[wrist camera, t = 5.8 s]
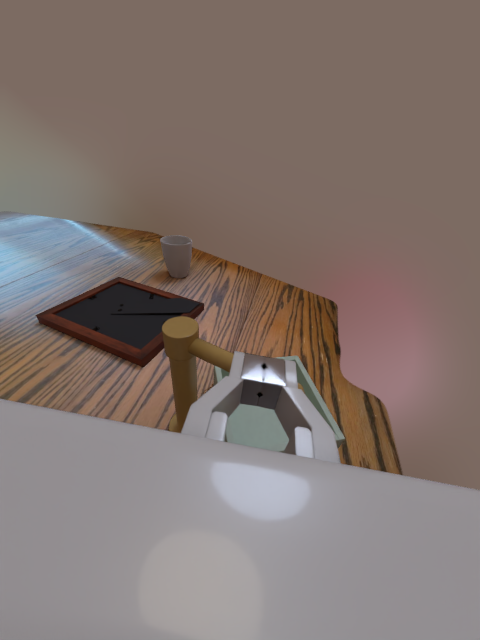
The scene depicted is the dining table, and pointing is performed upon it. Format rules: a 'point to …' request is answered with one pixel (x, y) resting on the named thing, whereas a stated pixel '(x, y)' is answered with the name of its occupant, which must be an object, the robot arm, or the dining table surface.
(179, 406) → the faucet base
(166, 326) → the spout
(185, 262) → the cup
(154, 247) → the dining table surface
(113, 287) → the picture frame
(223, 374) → the sink
